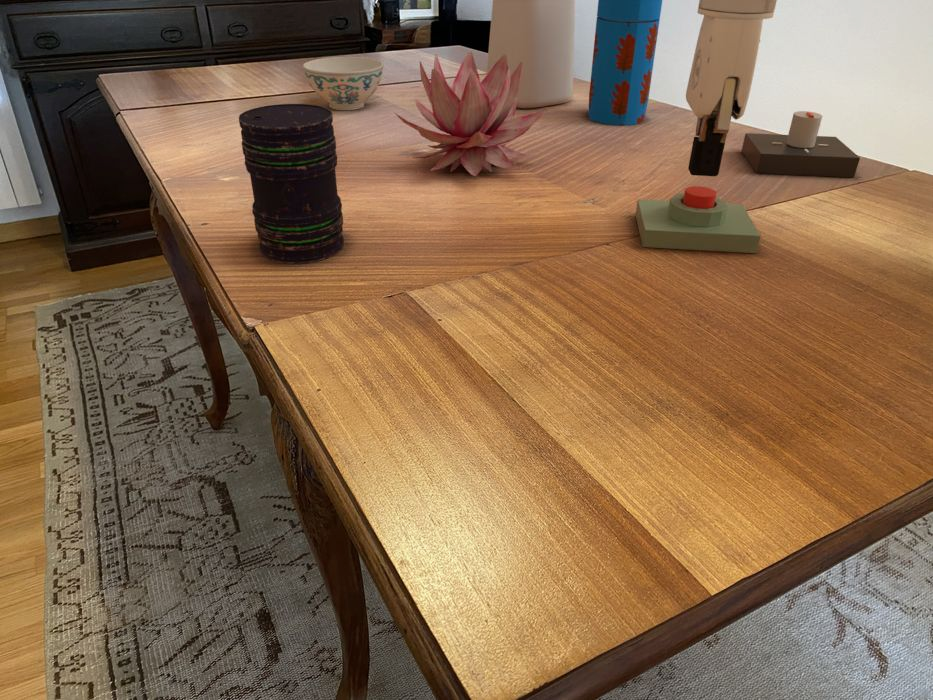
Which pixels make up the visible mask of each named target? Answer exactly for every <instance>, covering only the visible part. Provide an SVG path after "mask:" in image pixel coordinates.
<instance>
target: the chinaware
mask: <svg viewBox="0 0 933 700" xmlns="http://www.w3.org/2000/svg"><path fill="white" fill-rule="evenodd" d="M302 68H303V70H304V74H305V78H306V79H307V81H308V83H309V85H310V87H311V88H312V90H313V91H314V92H315V93H316V95H318V96H319V97H320V98H321V99H322V100H324V101H325V102H327V103H328V105H329V106H328V107H329V108H330V109H332V110H337V111H354V110H359V109H362V108H364V106H365V102H366V101H367V100H368V99H369V98H370V97H371V96H373V94H374V93H375V92H376V90H377V88H378V87H379V85H380V82H381V79H382V76H383V71H384V63H383V62H382V61H381V60H378V59H375V58H370V57H361V56H333V57H324V58H323V57H322V58H318V59H311V60H309V61H306V62H304V63H303V65H302Z"/></svg>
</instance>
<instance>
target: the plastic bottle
mask: <svg viewBox="0 0 933 700" xmlns="http://www.w3.org/2000/svg"><path fill="white" fill-rule="evenodd" d="M491 6H492V7H491V19H490V27H489V28H490V29H489V40H488V53H487V63H486V74H485V76H486V75H487V74H488V73H489V71H490V70H491V69H492V68H493V66H494V65H495V64H496V62H497V61H498V60H499V59H500V58H501V57H502V56H503V55H506V56H507V63H508V69H510V76H511V75H512V74H513V72H514V71H515V69H516V68H517V67H518V65H519V64H520V62H521V61H522V72H521V79H520V84H519V88H518V92H517V95H516V97H517V98H518V101H517V105H516V109H517V108H518V109H537V108H543V107H548V106H554V105H560V104H561V105H562V104H565V103H568V102H569V101H571V99H572V98H573V95H574V71H575V70H574V69H575V68H574V67H575V66H574V65H575V23H576V22H575V21H576V20H575V19H576V17H575V16H576V0H492V5H491Z"/></svg>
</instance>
